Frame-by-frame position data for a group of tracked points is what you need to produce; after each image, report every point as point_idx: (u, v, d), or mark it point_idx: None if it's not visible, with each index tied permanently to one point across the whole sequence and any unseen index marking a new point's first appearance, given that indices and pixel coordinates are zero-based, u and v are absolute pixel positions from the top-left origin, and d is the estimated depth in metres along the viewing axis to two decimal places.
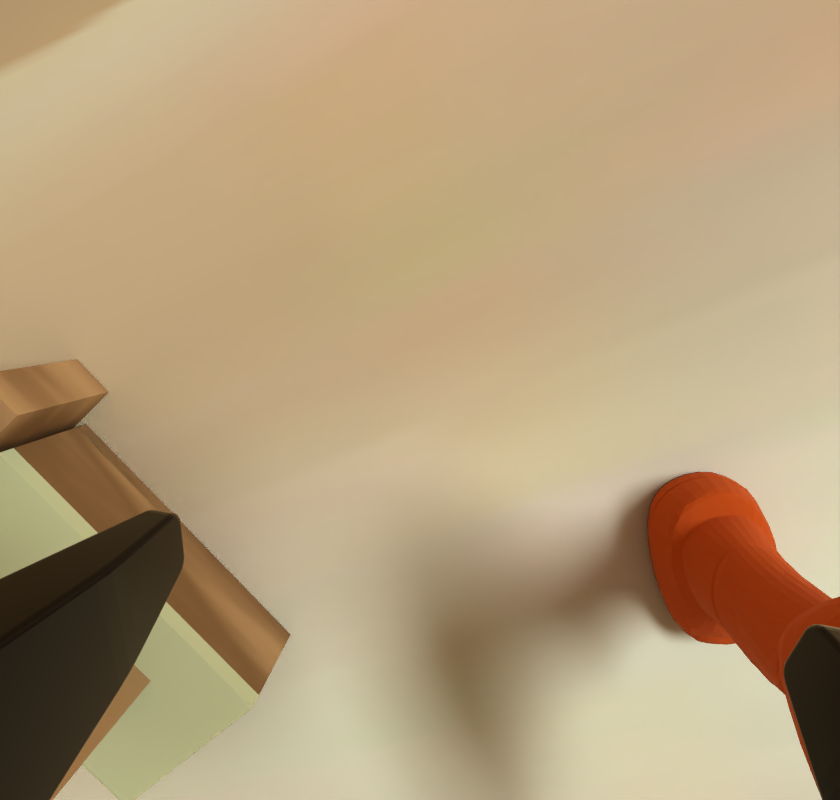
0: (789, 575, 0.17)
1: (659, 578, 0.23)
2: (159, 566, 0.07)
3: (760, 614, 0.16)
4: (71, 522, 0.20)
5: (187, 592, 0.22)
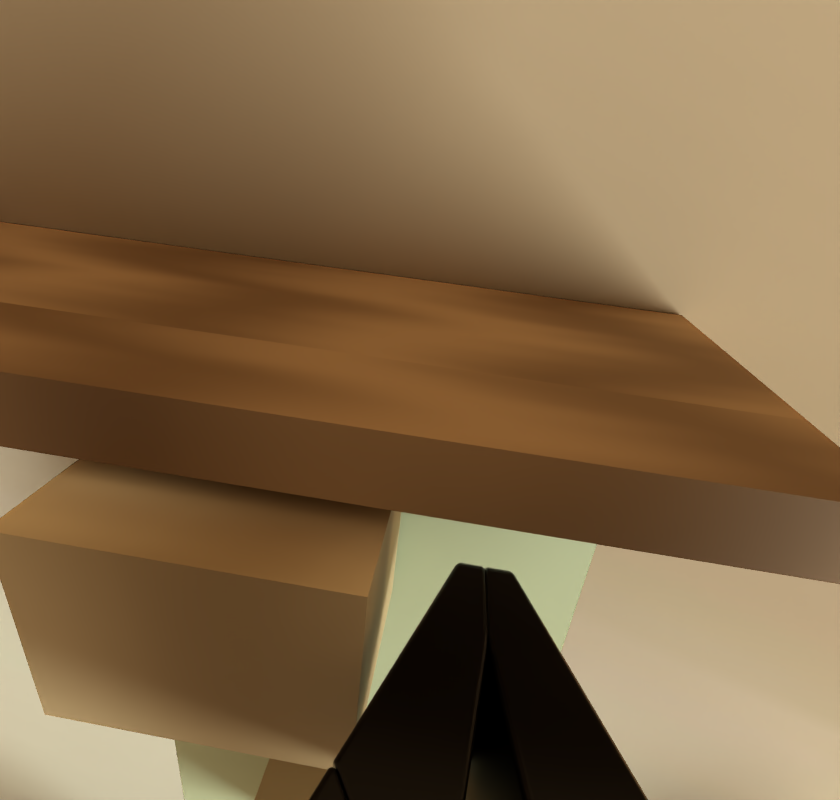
0: None
1: None
2: None
3: None
4: None
5: None
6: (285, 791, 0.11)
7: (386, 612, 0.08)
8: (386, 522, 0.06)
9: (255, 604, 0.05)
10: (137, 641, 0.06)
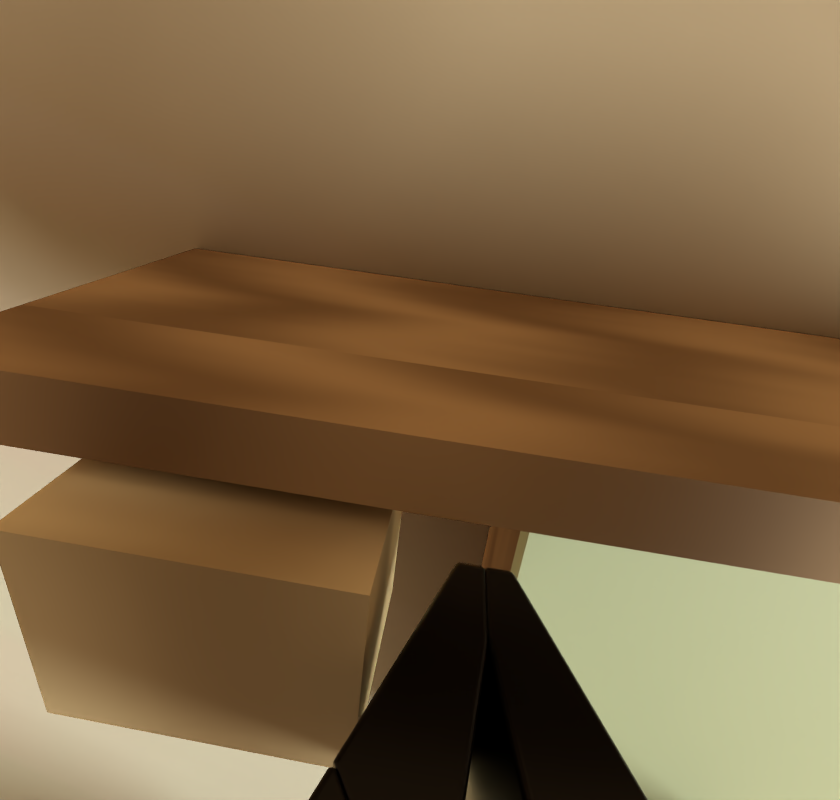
0: None
1: None
2: None
3: None
4: None
5: None
6: None
7: (386, 611, 0.08)
8: (387, 521, 0.06)
9: (258, 602, 0.05)
10: (140, 639, 0.06)
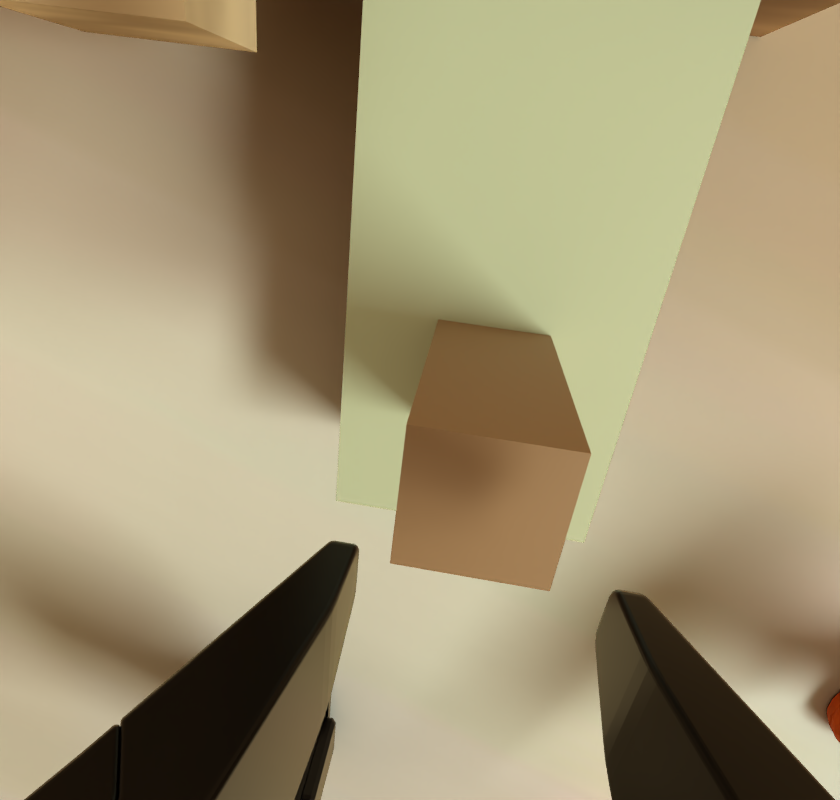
0: None
1: None
2: (347, 600, 0.07)
3: None
4: (694, 195, 0.12)
5: None
6: (457, 333, 0.13)
7: (243, 34, 0.11)
8: None
9: None
10: None
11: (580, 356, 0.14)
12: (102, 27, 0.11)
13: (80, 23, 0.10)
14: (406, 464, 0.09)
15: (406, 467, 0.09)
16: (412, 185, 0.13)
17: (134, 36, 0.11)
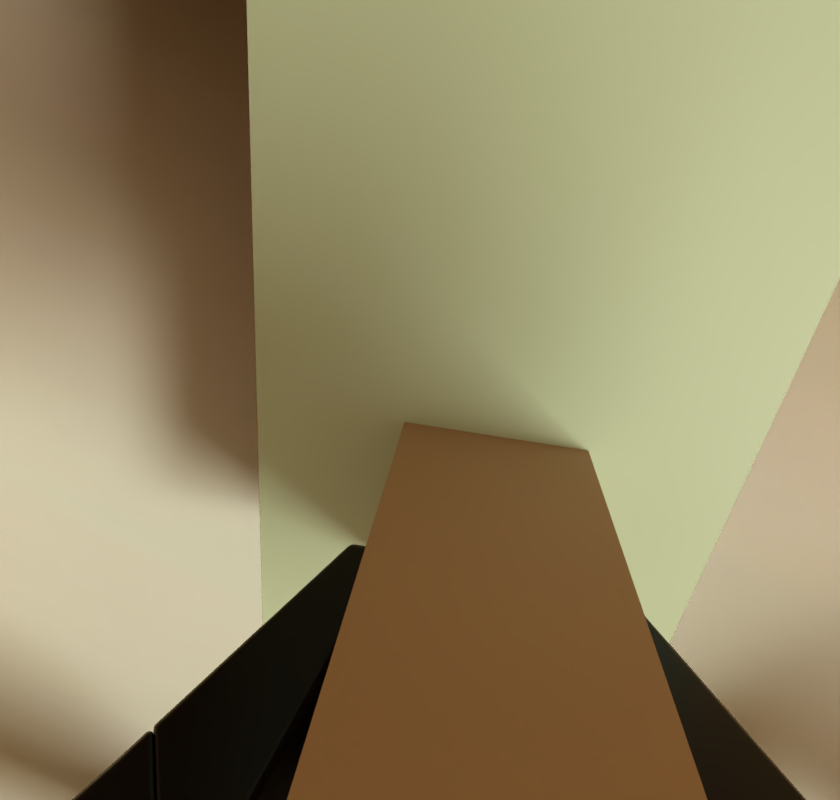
0: None
1: None
2: None
3: None
4: None
5: None
6: (433, 458, 0.08)
7: None
8: None
9: None
10: None
11: (636, 482, 0.09)
12: None
13: None
14: None
15: None
16: (353, 207, 0.07)
17: None
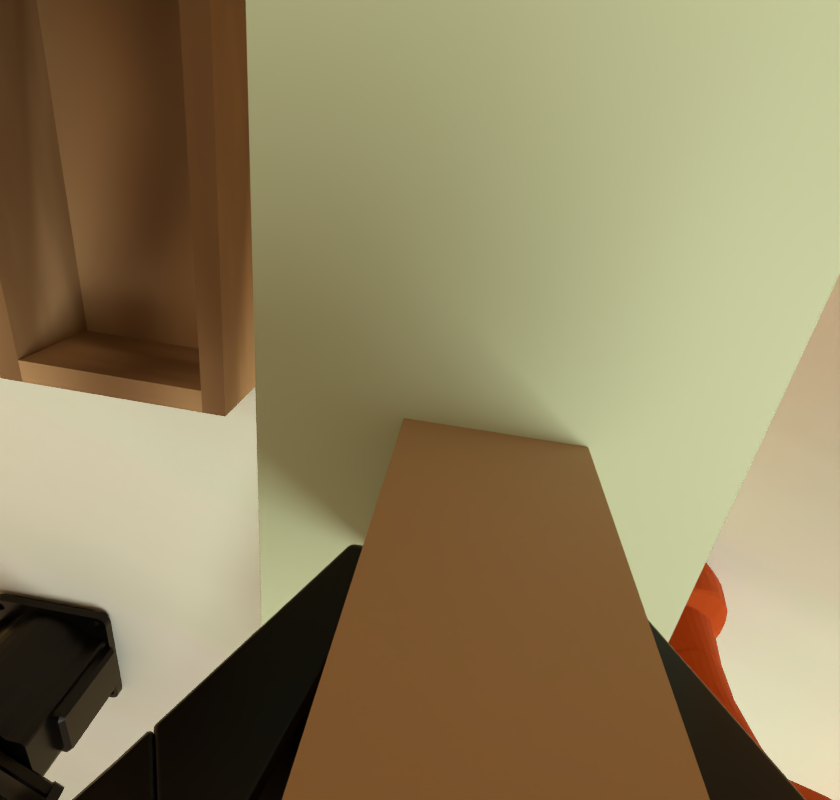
0: (739, 710, 0.18)
1: None
2: None
3: None
4: None
5: (236, 257, 0.16)
6: (432, 453, 0.08)
7: None
8: None
9: None
10: None
11: (635, 478, 0.08)
12: None
13: None
14: None
15: None
16: (352, 202, 0.07)
17: None
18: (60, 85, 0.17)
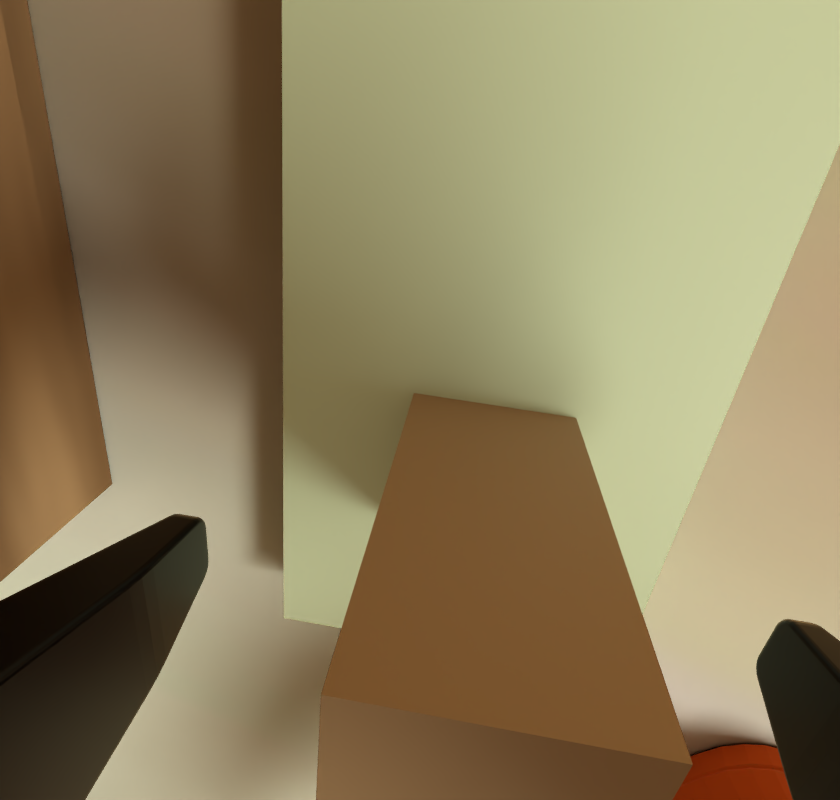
0: None
1: None
2: (185, 571, 0.07)
3: None
4: (802, 219, 0.08)
5: None
6: (439, 421, 0.09)
7: None
8: None
9: None
10: None
11: (618, 446, 0.10)
12: None
13: None
14: (326, 753, 0.05)
15: (326, 758, 0.05)
16: (370, 203, 0.08)
17: None
18: None
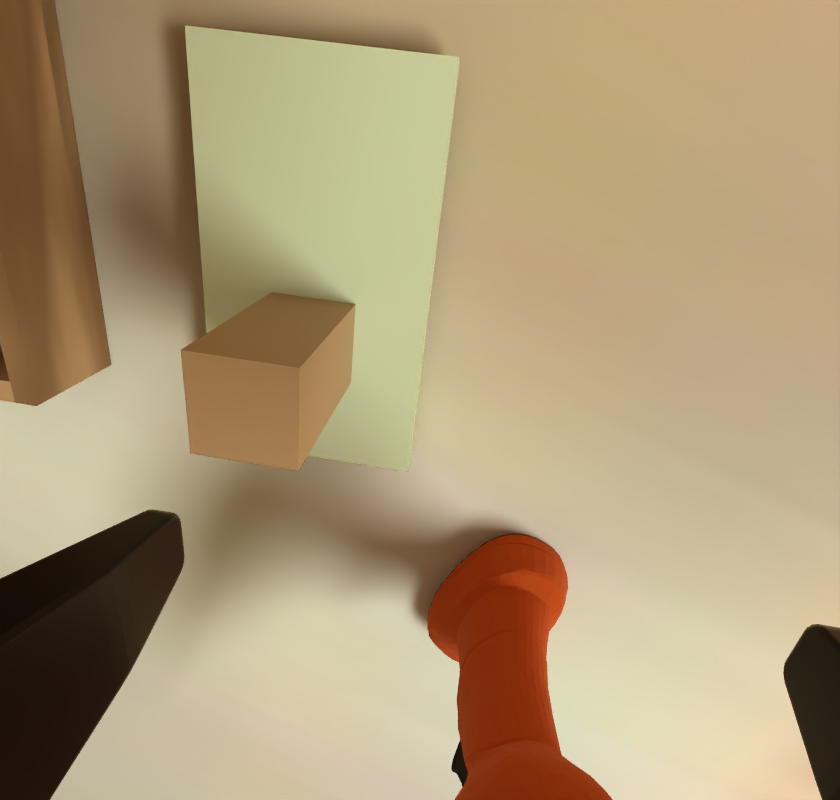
0: (544, 689, 0.18)
1: (449, 584, 0.24)
2: (159, 566, 0.07)
3: (502, 702, 0.17)
4: (441, 197, 0.16)
5: (32, 251, 0.17)
6: (277, 301, 0.17)
7: None
8: None
9: None
10: None
11: (379, 320, 0.18)
12: None
13: None
14: (186, 378, 0.13)
15: (186, 380, 0.13)
16: (239, 190, 0.17)
17: None
18: None
